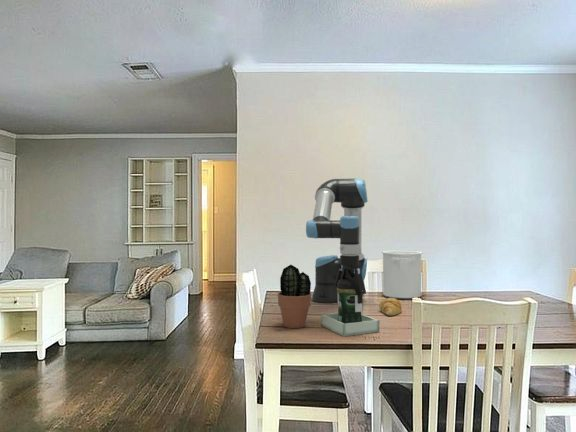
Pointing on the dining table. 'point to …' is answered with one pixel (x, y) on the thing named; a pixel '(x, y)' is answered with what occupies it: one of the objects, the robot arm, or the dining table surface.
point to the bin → (350, 325)
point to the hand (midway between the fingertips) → (349, 308)
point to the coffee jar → (347, 302)
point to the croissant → (390, 306)
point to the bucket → (402, 274)
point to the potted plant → (294, 297)
